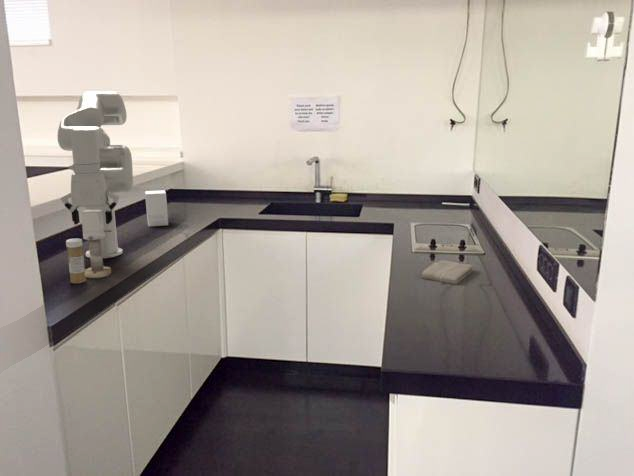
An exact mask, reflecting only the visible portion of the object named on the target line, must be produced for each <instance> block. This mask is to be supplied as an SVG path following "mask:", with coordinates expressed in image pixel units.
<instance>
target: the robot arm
mask: <svg viewBox="0 0 634 476" xmlns="http://www.w3.org/2000/svg"><path fill="white" fill-rule="evenodd" d="M126 121H127V109H126V105H125V101H124V98H122V95H120V94H119V93H118V92H116V91H97V90H96V91H94V90H93V91H92V90H91V91H86V92H84V93H82V95H80V97H79V101H78V106H77V108H76V110H75V111H73V112H72V113H69V114H67V115H66V116H65V117H64V116H63V118H62V119H61V120H60V122H59V125H58V129H57V144H58V145H59V147H60V149H62V150H63V151H66V152H72V161H73V163H72V165H69V166H68V169H69V170H70V171H73V173H72V174H71V178H70V193H68V194H66V195H64V196H61V198H60V201H61V202H62V203H63V205H64V207H65V208H66V209H68V211H69V212H70V213H71V219H72V222H73V224H74V226H75V225H78V224H80V222H81V221H80V211H79V210H78V208H79V207H80V208H82V207H85V210H102V214H103V224H104V230H112V232H105V237H104V238H102V239H101V248H102V259H110V258H115V257H118V256H120V255H122V254H123V248H120V247H119V245H118V235H117V226H116V215H115V213H116V212H115V207H116V206H117V205H118V202H119V200H120V196H119V195H122V194H123V195H124V194H125V195H126V194H129V193H131V191H133V187H134V175H133V173H134V172H133V170H134V169H133V159H132V153H131V150H130V148H129V147H128V146H126V145H123V144H111V139H110V136H108V135H109V134H107V133H106V131H105V129H103V128H102V126H122V125H124V124H125V123H126ZM118 194H119V195H118ZM69 199H70V200H71V202H69ZM110 199H112V201H111V200H110ZM85 257H87V258H89V259H90V251H89V250H86V252H85Z"/></svg>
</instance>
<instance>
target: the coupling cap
mask: <svg viewBox="0 0 634 476" xmlns="http://www.w3.org/2000/svg"><path fill="white" fill-rule="evenodd" d="M80 215H81V217H80V219H81V226H82V240H85V241H88V240H97V239H102V238H104V237H105V232H112V230H104V224H103V214H102V210H86V209H84V210H83V211H82V212H81V213H80Z"/></svg>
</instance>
